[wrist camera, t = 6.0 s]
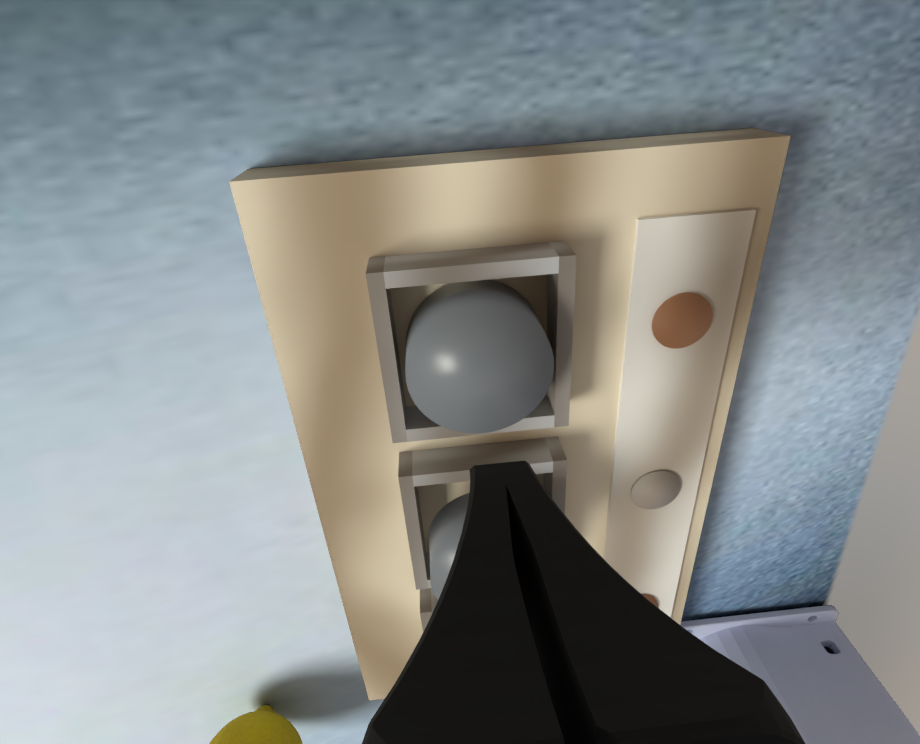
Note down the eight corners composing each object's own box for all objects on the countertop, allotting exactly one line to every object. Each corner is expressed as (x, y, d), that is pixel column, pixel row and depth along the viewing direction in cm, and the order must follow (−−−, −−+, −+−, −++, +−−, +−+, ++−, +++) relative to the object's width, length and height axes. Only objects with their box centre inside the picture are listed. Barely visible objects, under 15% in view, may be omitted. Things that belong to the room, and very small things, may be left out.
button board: (752, 128, 17) (822, 142, 14) (656, 631, 30) (682, 692, 27) (248, 169, 17) (213, 192, 14) (371, 663, 30) (367, 729, 27)
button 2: (540, 272, 17) (555, 296, 15) (539, 392, 19) (552, 426, 17) (398, 284, 17) (396, 311, 15) (413, 404, 19) (413, 439, 17)
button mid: (545, 483, 19) (558, 524, 18) (543, 566, 22) (555, 610, 20) (423, 495, 19) (424, 539, 18) (434, 578, 21) (436, 624, 20)
